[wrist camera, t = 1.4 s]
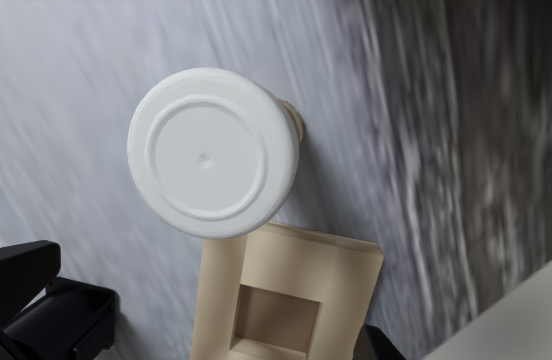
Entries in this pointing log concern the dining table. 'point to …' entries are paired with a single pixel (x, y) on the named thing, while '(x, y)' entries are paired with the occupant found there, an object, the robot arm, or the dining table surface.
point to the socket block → (283, 295)
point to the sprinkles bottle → (214, 152)
